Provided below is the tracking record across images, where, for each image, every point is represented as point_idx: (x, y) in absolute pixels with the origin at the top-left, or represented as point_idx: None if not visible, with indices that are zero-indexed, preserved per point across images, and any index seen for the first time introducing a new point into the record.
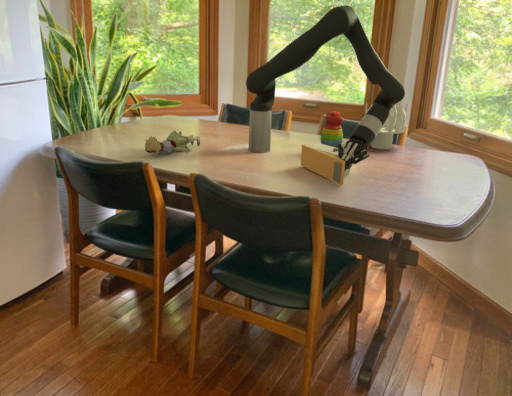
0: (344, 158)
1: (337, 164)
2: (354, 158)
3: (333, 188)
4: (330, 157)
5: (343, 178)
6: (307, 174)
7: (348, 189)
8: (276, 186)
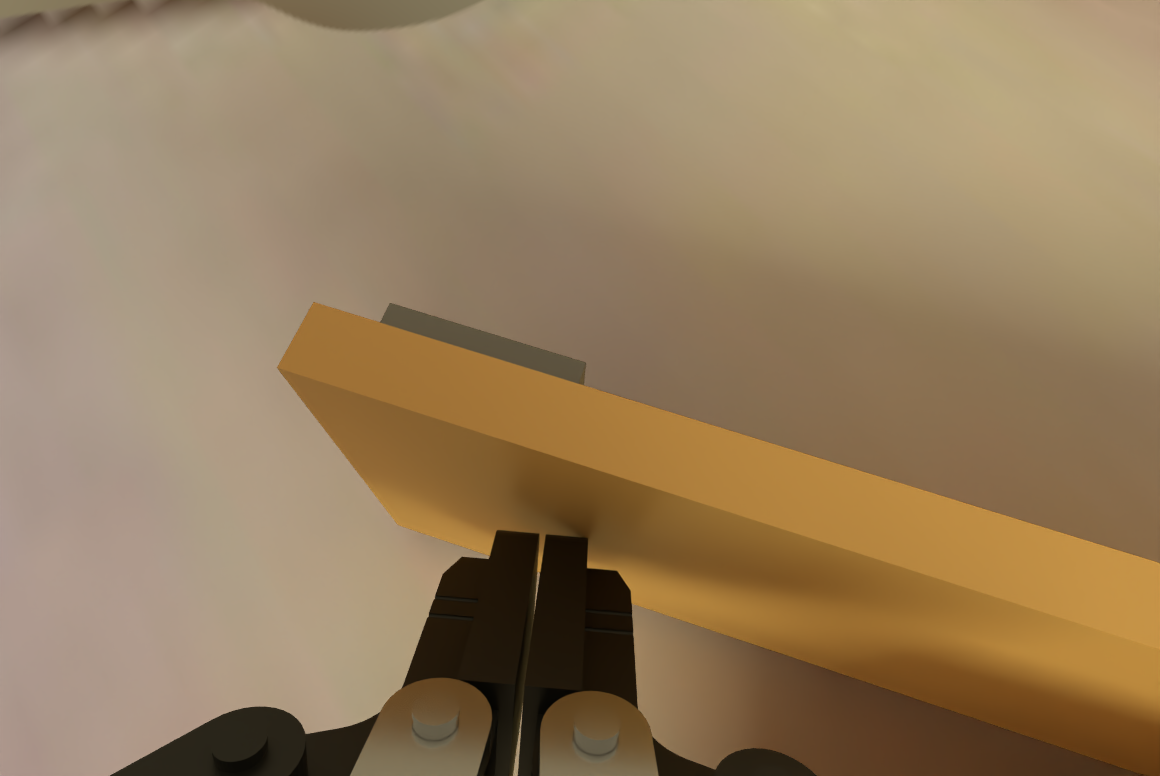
0: (540, 732)
1: (466, 336)
2: (139, 771)
3: None
4: (840, 475)
5: (379, 495)
6: None
7: (265, 464)
8: (853, 8)
